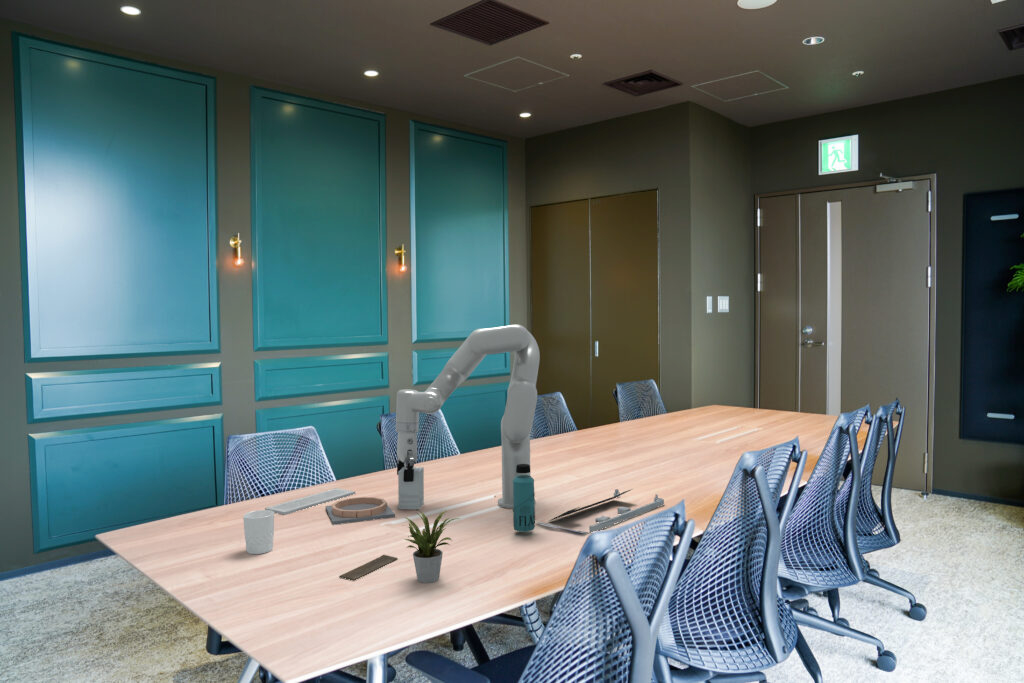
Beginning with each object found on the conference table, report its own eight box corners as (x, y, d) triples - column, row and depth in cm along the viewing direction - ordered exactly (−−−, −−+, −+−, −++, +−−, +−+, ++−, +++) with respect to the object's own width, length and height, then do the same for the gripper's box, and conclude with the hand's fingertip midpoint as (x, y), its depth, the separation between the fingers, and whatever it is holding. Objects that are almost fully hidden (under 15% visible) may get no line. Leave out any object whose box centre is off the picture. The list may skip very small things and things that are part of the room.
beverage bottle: (516, 538, 192) (515, 467, 192) (510, 531, 199) (509, 463, 198) (538, 535, 194) (537, 466, 193) (531, 529, 200) (530, 461, 200)
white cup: (265, 543, 191) (264, 508, 191) (280, 549, 186) (279, 513, 186) (238, 551, 185) (237, 514, 185) (254, 557, 180) (253, 519, 180)
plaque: (284, 512, 219) (264, 508, 225) (284, 516, 219) (265, 512, 225) (355, 491, 245) (336, 488, 250) (355, 495, 245) (336, 492, 250)
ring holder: (395, 517, 215) (394, 507, 215) (333, 524, 208) (333, 514, 208) (383, 502, 233) (382, 493, 233) (325, 509, 226) (325, 500, 225)
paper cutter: (663, 506, 224) (663, 489, 223) (579, 539, 191) (579, 520, 191) (618, 497, 236) (617, 481, 236) (531, 527, 204) (531, 508, 204)
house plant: (464, 566, 171) (463, 501, 170) (462, 588, 157) (461, 517, 156) (407, 568, 170) (405, 503, 170) (400, 590, 156) (398, 519, 156)
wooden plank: (354, 578, 162) (338, 573, 165) (354, 583, 162) (338, 578, 165) (398, 557, 177) (383, 553, 179) (397, 562, 177) (382, 558, 179)
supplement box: (424, 504, 230) (424, 466, 230) (419, 510, 223) (420, 471, 222) (402, 503, 231) (402, 466, 230) (397, 509, 223) (397, 471, 223)
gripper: (424, 431, 219) (422, 483, 220) (412, 422, 235) (410, 471, 236) (401, 431, 216) (399, 484, 217) (390, 423, 232) (388, 472, 233)
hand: (404, 478), depth 226 cm, fingers open, 9 cm apart
